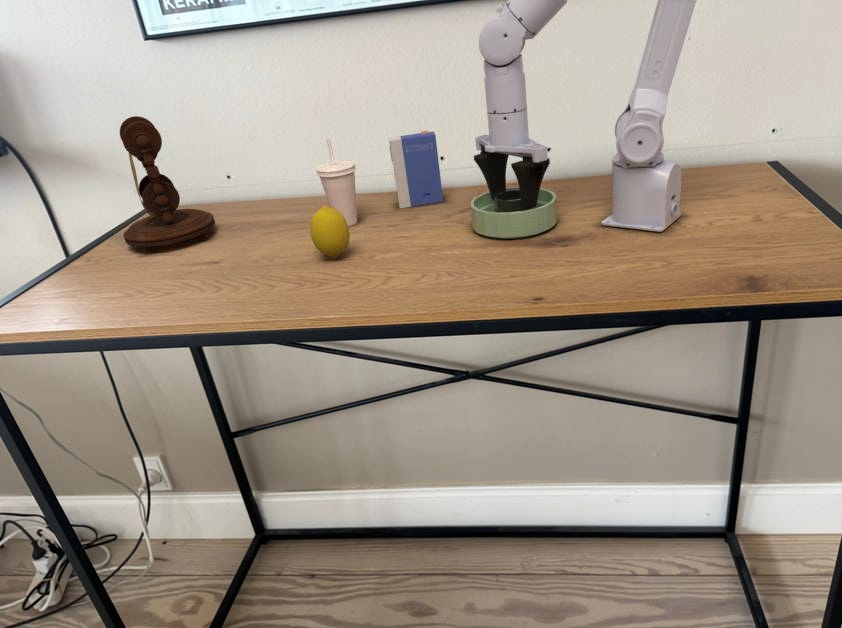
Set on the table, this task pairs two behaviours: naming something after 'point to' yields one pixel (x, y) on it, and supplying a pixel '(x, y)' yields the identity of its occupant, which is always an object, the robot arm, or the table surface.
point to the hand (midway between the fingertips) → (513, 202)
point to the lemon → (329, 231)
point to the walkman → (416, 169)
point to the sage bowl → (513, 217)
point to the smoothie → (340, 186)
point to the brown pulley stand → (158, 194)
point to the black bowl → (508, 201)
